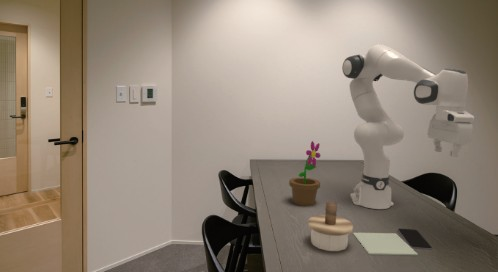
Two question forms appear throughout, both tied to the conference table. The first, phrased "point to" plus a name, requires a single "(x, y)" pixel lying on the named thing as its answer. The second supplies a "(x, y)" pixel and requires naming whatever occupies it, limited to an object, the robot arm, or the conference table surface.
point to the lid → (330, 222)
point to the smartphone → (414, 239)
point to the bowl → (329, 241)
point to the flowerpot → (306, 181)
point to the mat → (384, 244)
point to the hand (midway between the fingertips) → (445, 153)
